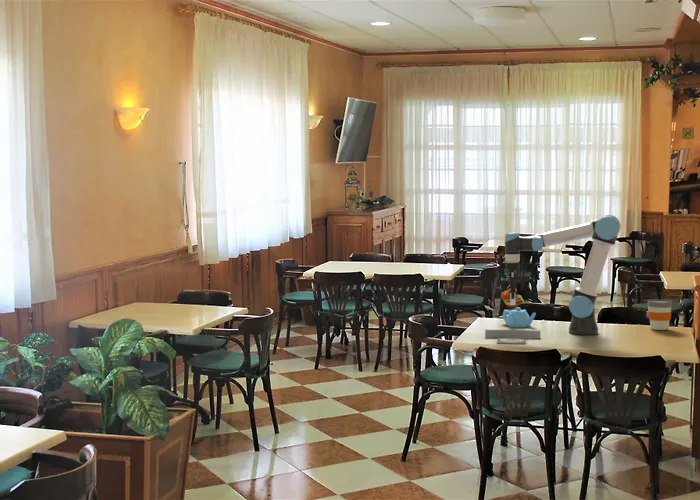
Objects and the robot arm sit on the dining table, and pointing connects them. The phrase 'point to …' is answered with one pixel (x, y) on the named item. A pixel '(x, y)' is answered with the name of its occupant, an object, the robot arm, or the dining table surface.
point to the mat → (511, 341)
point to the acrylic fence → (512, 333)
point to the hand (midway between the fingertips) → (512, 303)
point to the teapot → (518, 318)
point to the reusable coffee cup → (659, 314)
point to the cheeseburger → (506, 298)
